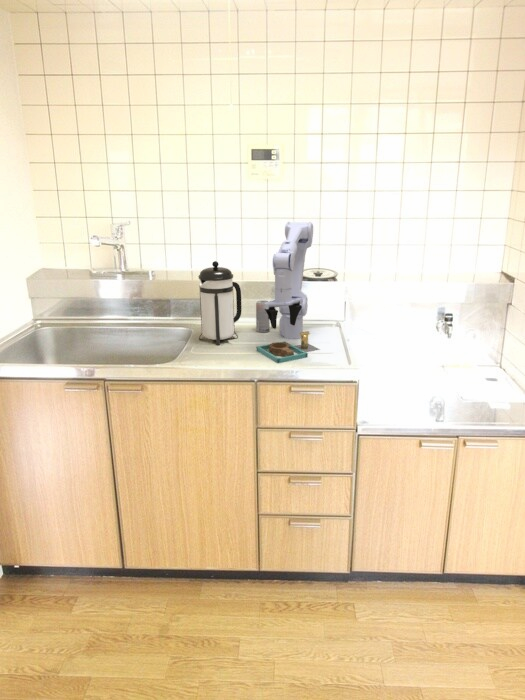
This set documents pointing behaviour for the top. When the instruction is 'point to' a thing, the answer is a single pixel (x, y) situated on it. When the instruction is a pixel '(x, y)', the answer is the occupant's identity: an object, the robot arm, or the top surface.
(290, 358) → the tray
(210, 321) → the coffee press
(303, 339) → the gold t-shaped peg
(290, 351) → the ring
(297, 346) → the base
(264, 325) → the energy drink
